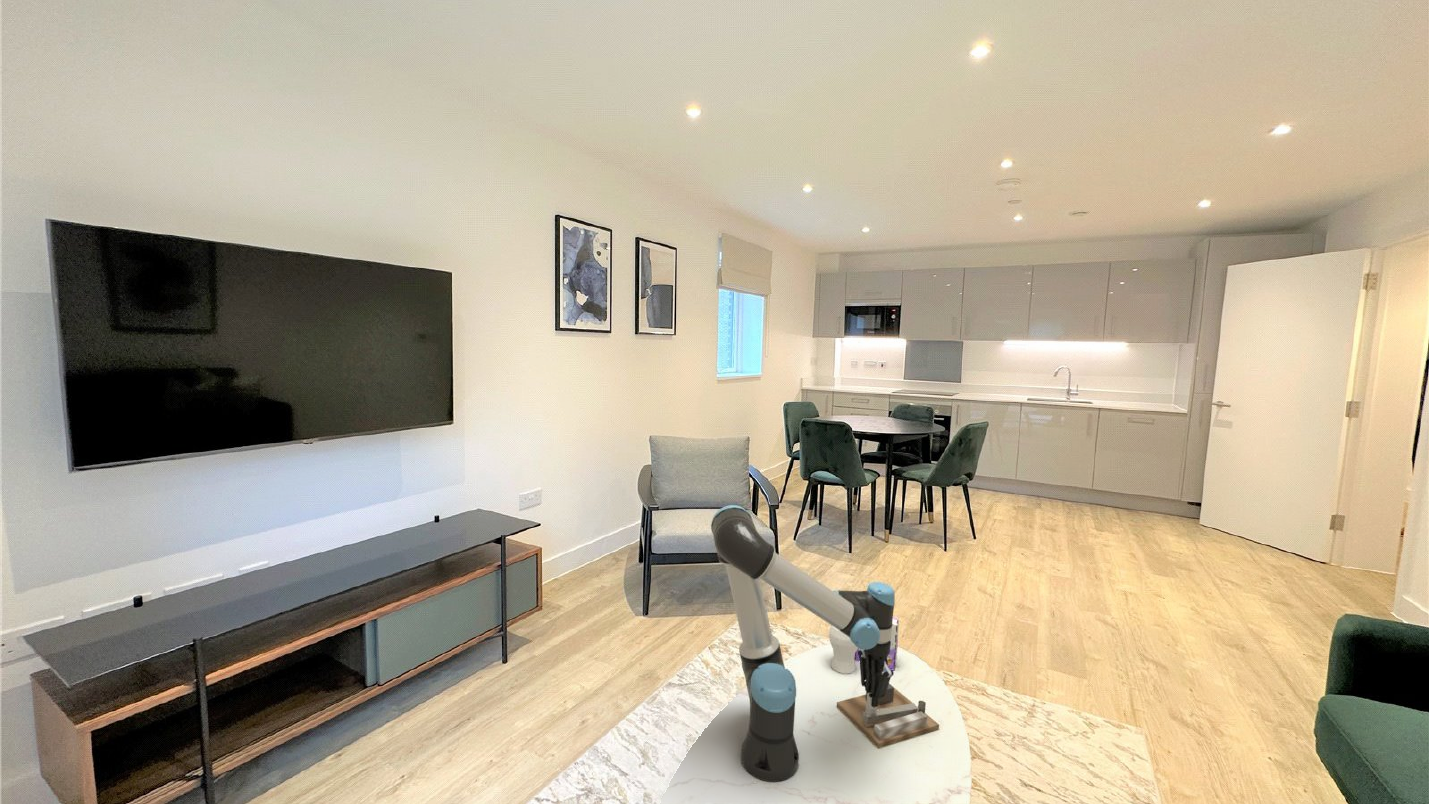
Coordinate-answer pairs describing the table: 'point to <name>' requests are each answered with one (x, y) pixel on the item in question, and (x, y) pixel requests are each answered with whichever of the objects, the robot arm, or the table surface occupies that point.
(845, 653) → the cup
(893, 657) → the candy box
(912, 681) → the table surface
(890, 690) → the dark grey block
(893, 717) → the bar
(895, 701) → the board
